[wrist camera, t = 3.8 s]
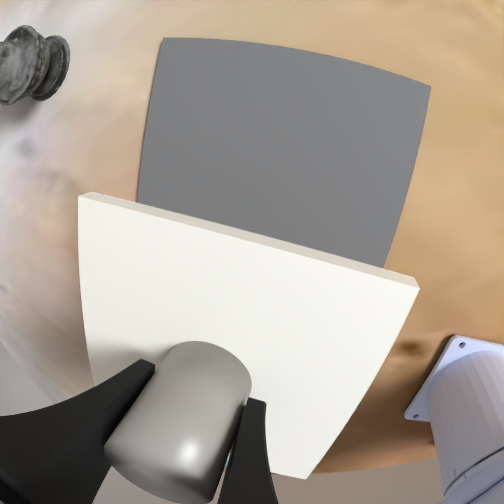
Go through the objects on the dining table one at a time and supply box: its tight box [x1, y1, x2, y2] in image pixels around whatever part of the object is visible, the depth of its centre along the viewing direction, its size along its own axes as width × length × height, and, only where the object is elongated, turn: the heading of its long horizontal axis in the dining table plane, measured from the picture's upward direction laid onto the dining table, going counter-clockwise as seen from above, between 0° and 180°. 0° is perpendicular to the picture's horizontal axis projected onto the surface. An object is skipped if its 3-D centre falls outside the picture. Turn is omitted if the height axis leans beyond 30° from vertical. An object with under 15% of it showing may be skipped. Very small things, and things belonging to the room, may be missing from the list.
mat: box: [137, 38, 431, 268], centre depth 17 cm, size 15×15×1 cm
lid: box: [78, 192, 420, 504], centre depth 10 cm, size 12×12×6 cm
